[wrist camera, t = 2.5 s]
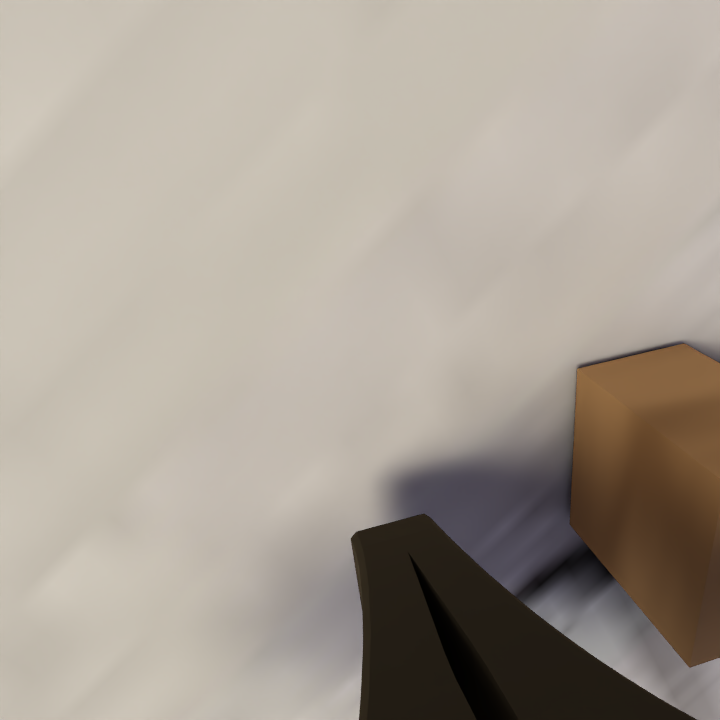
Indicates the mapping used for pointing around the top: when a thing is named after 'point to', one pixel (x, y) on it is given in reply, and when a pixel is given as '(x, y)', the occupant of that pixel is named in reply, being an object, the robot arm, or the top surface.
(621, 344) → the top surface
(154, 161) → the top surface
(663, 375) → the key
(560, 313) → the top surface
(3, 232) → the top surface
